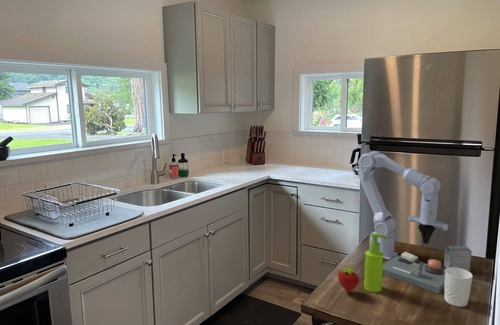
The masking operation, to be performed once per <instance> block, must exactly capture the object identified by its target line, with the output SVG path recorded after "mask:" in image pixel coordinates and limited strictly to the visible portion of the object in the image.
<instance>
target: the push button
mask: <svg viewBox="0 0 500 325" xmlns="http://www.w3.org/2000/svg"><path fill="white" fill-rule="evenodd" d="M427 264H428V268H429V269H431V270H441V268H442V261H440V260H438V259H435V258H434V259H433V258H430V259H428V261H427Z"/></svg>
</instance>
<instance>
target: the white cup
mask: <svg viewBox="0 0 500 325" xmlns="http://www.w3.org/2000/svg"><path fill="white" fill-rule="evenodd" d="M473 276H474V275H473V274H472V272H470V271H467V270H464V269H460V268H447V269H446V268H445V282H444V286H445V287H444V288H443V290H444V296H443V297H444V301H445V302H446V303H448V304H449V305H452V306H455V307H459V308H460V307H461V308H463V307H466V306H468V304H469V299H470V294H471V288H472V282H473Z"/></svg>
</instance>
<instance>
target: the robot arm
mask: <svg viewBox="0 0 500 325" xmlns="http://www.w3.org/2000/svg"><path fill="white" fill-rule="evenodd" d="M357 164H358V173H357V174H358V176H357V177H358V179H359V181H360V183H361V186H362V188H363V191H364V193H365V196H366V198H367V200H368V204H369V205H370V208H371V210H372V212H373V215H374V216H373V221H372V222H373V224H374V231H373V232H372V233H381V234H385V235H387V236H388V237H387V238H384V237H378V243H380V251H381V252H382V253H383V259H385V260H387V261H389V260H390V259H392V258H393V257H395V256H397V255H399V254H398V252H394V251H395V237H396V234H395V231H396V229H397V228H398V222H397V220H396V219H395V218H394V216H393V215H392V213H391V212H390V211H389V210H387V208H386V205H385V203H384V200H383V199H382V196H381V193H380V191H379V188H378V186H377V184H376V181H375V179H374V177H373V175H374V172H375V171H376V169H377V168H385V169H388V170H390V171H391V172H394V173H395V174H398V175H399V176H401V177H402V178H403V180H404V182H406V183H408V184H409V185H411V186H414V187H415V188H417V189H418V190H420V192H421V199H420V200H421V201H420V211H419V212H420V213H419V214H420V215H419V216H414V215H410V216H408V217H407V218H408V220H407V221H408V222H409V223H412V222H413V223H416V224H419V225H418V226H417V227H418V230H419V232H420V234H421V237H422V243H423V244H425V245H427V244H429V243H430V240H431V238H432V235H433V233H434V231H435V230H436V229H441V230H442V231H448V230H449V224H448V223H444V222H441V221H440V220H439V221H438V220H437V214H438V213H437V212H438V203H439V202H438V200H439V198H438V197H439V190H440V189H441V188H442V187H441V186H442V185H441V182H440V181H439V180H438V179H437V178H436V177H431V176H430V175H426V174H424V173H422V172H420V171H419V169H418V168H415V167H414V168H412V167H411V168H406V167H405V166H403V165H402V164H400V163H398V162H397V161H395V160H394V159H391V158H390V157H388V156H387V155H385V154H384V153H380V152H379V151H378V150H373V151H370V152H368V153H363V154H362V155H361V156H360V157H359V159H358V160H357ZM372 239H373V237H371V235H370V237H369V243H370V242H372ZM369 248H370V244H369Z"/></svg>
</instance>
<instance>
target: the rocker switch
mask: <svg viewBox="0 0 500 325" xmlns="http://www.w3.org/2000/svg"><path fill="white" fill-rule="evenodd" d="M400 256H401V257H402V258H404V259H406V260H409V261H411V262H413V263H414V262H415V261H417V260H419V257H418V256H416V255H414V254H412V253H409V252H407V251H404V252H403V253H401V254H400Z"/></svg>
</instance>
